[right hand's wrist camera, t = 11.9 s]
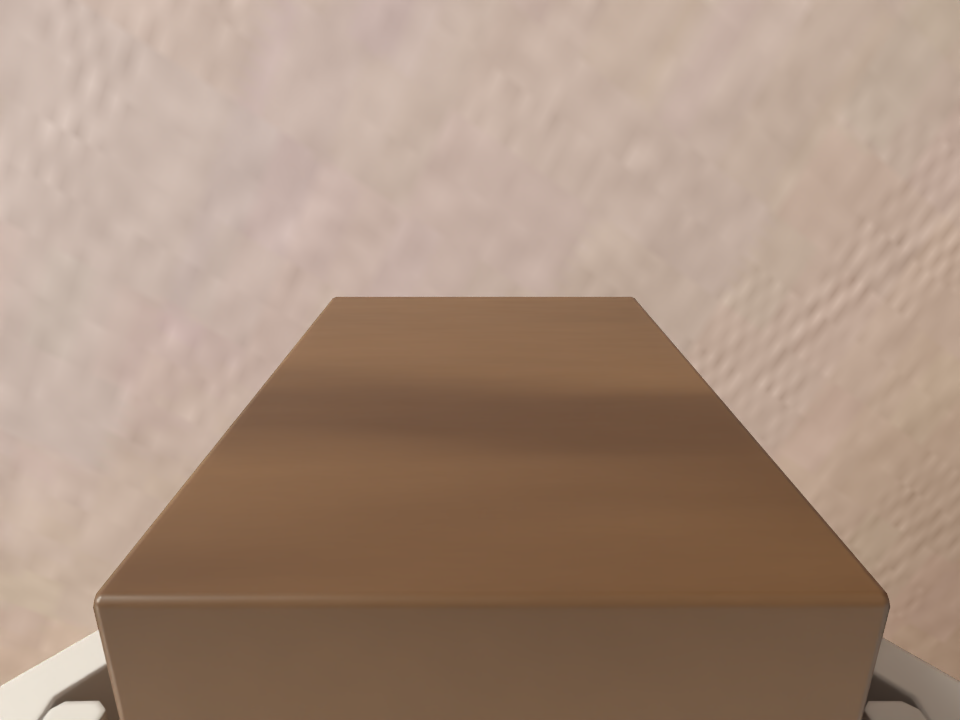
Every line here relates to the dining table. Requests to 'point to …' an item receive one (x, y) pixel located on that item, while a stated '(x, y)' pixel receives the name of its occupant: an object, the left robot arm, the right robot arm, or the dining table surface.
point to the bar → (489, 538)
